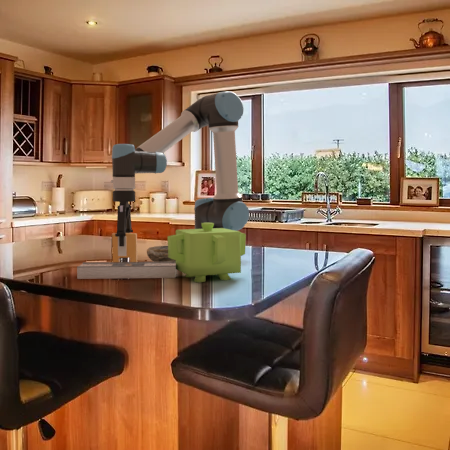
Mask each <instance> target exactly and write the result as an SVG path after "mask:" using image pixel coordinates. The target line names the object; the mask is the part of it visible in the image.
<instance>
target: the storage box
mask: <svg viewBox="0 0 450 450" xmlns="http://www.w3.org/2000/svg"><path fill="white" fill-rule="evenodd" d="M201 225H202V228H203V229H195V228H188V229H186V228H185V229H176V230H175V234H171V235H167V246H168V257H169V258H171V259H174V260H176V271H177V270H178V271H179V272H181V273H183V274H185V276H184V277H186V278H194V277H195V278H194V280H193V282H194V283H204V282H206V279H207V277H206V276H218V278H219V280H221V281H229V280H232V278H231V276H230V275H229V274H238V273H239V274H240V273H242V261H241V260H242V256H244V255H245V254H246V242H247V241H246V237H247V235H246V233H243V232H241V231H240V230H238V231H235V230H230V229H225V228H213V226H214V223H201Z"/></svg>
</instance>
